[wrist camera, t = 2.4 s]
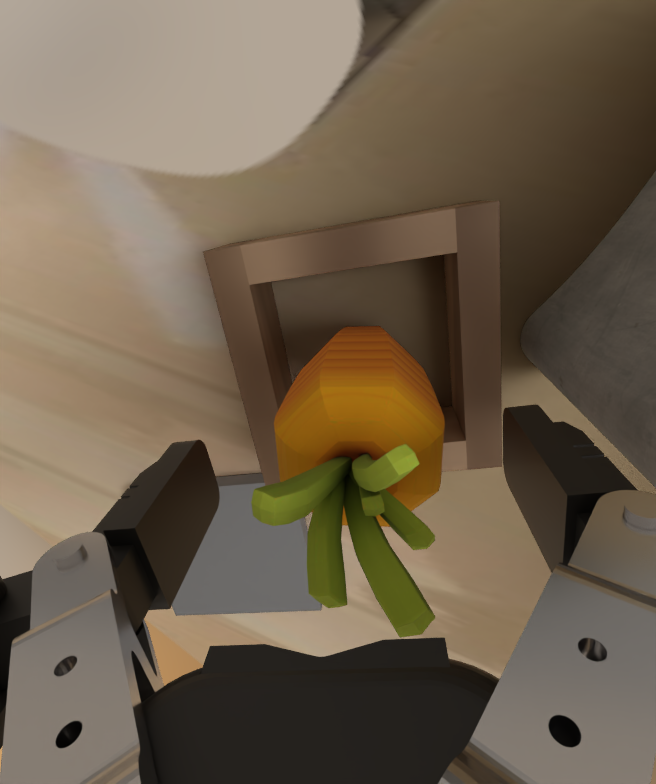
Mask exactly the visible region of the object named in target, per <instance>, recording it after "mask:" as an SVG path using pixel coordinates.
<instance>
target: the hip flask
mask: <svg viewBox="0 0 656 784" xmlns="http://www.w3.org/2000/svg"><path fill="white" fill-rule="evenodd" d="M520 340H521V347H522V350H523V352H524V354H525V356H526V357H527V358H528V359H529V360H530V361H531V362H532V363H533V364H534V365H535V366H536V367H537V368H538V369H539V370H540V371H541V372H542V373H543V374H544V375H545V376H546V377H547V378H548V379H549V380H550V381H551V382H552V383H553V384H554V385H555V386H556V387H557V388H558V389H559V390H560V391H561V392H562V393H563V394H564V395H565V396H566V397H567V399H568V400H569V401H570V402H571V403H572V404H573V405H574V406H575V407H576V408H577V409H578V410H579V411H580V412H581V413H582V414H583V415H584V416H585V417H586V418H587V419H588V420H589V421H590V422H591V423H592V424H593V425H594V426H595V427H596V428H597V429H598V430H599V431H600V432H601V433H602V434H603V435H604V436H605V437H606V438H607V439H608V440H609V441H610V442H611V443H612V444H613V445H614V446H615V447H616V448H617V449H618V450H619V451H620V452H621V453H622V454H623V455H624V456H625V457H626V458H627V459H628V460H629V461H630V462H631V463H632V464H633V465H634V466H635V467H636V468H637V469H638V470H639V471H640V472H641V473H642V474H643V475H644V476H645V477H646V478H647V479H648V480H649V481H650V482H651V483H652V484H653V486H654V487H655V488H656V171H655V173H654V174H653V175H652V177H651V178H650V179H649V181H648V182H647V183H646V185H645V186H644V187H643V189H642V190H641V191H640V193H639V194H638V195H637V197H636V198H635V199H634V201H633V202H632V203H631V205H630V206H629V207H628V209H627V210H626V211H625V213H624V214H623V215H622V216H621V218H620V219H619V220H618V221H617V223H616V224H615V225H614V226H613V228H612V229H611V230H610V231H609V233H608V234H607V235H606V236H605V238H604V239H603V240H602V241H601V242H600V243H599V245H598V246H597V247H596V248H595V249H594V250H593V252H592V253H591V254H590V255H589V256H588V257H587V258H586V260H585V261H584V262H583V263H582V264H581V265H580V266H579V267H578V268H577V270H576V271H575V272H574V273H573V274H572V275H571V276H570V277H569V278H568V279H567V280H566V281H565V282H564V283H563V284H562V285H561V286H560V287H559V288H558V289H557V290H556V292H555V293H554V294H553V295H552V296H551V297H550V298H549V299H547V300H546V301H545V302H544V303H543V304H542V305H541V306H540V307H539V308H538V309H537V310H536V311H535V312H534V313H533V314H532V315H531V316H530V317H529V318H528V319H527V321H526V323H525V324H524V326H523V329H522V332H521V337H520Z"/></svg>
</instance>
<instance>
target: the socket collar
mask: <svg viewBox="0 0 656 784" xmlns="http://www.w3.org/2000/svg"><path fill="white" fill-rule="evenodd" d="M203 253H204V257H205V261H206V264H207V268H208V272H209V276H210V280H211V283H212V287H213V291H214V295H215V298H216V302H217V306H218V310H219V313H220V317H221V321H222V325H223V328H224V332H225V336H226V340H227V343H228V347H229V351H230V355H231V358H232V362H233V366H234V370H235V374H236V377H237V381H238V385H239V389H240V392H241V396H242V400H243V404H244V407H245V411H246V415H247V419H248V422H249V426H250V430H251V434H252V437H253V441H254V445H255V449H256V453H257V456H258V460H259V464H260V468H261V471H262V475H263V479H264V483H265V486H266V485H270V484H275V483H279V482H280V475H279V466H278V457H277V448H276V439H275V429H274V420H275V416H276V414H277V412H278V410H279V408H280V406H281V404H282V402H283V400H284V398H285V396H286V395H287V393H288V391H289V389H290V387H291V386H292V379H291V374H290V370H289V365H288V360H287V355H286V351H285V346H284V341H283V337H282V332H281V327H280V323H279V318H278V313H277V309H276V304H275V299H274V294H273V290H272V285H271V281H277V280H284V279H290V278H297V277H303V276H309V275H316V274H322V273H328V272H335V271H341V270H347V269H354V268H360V267H367V266H373V265H379V264H386V263H392V262H398V261H405V260H411V259H417V258H424V257H430V256H437V255H443V254H444V268H445V286H446V303H447V320H448V337H449V354H450V372H451V389H452V406H450V407H441V410H442V412H443V415H444V421H445V428H444V442H443V456H442V470H441V472H443V471H456V470H468V469H480V468H492V467H502V419H501V311H500V203H499V201H474V202H468V203H462V204H457V205H451V206H445V207H439V208H434V209H428V210H422V211H416V212H411V213H405V214H399V215H393V216H387V217H382V218H376V219H370V220H364V221H359V222H353V223H347V224H341V225H336V226H330V227H324V228H318V229H313V230H307V231H301V232H295V233H290V234H284V235H278V236H272V237H267V238H261V239H255V240H249V241H243V242H238V243H232V244H228V245H225V246H221V247H218V248H214V249H211V250H208V251H204V252H203Z"/></svg>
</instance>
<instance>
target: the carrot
mask: <svg viewBox="0 0 656 784" xmlns="http://www.w3.org/2000/svg"><path fill="white" fill-rule="evenodd" d="M444 428H445V421H444V415H443V412H442V410H441V407H440V405H439V402H438V400H437V397H436V395H435V392H434V390H433V388H432V385H431V383H430V381H429V379H428V377H427V375H426V373H425V371H424V369H423V368H422V367H421V366H420V364H419V363H418V362H417V361H416V360H415V359H414V358H413V357H412V356H411V355H410V354H409V353H408V352H407V351H406V350H405V349H404V348H403V347H402V346H401V345H400V344H399V343H397V342H396V341H395V340H394V339H393V338H392V337H391V336H390V335H389V334H388V333H387V332H386V331H385V330H384V329H383V328H381V327H380V326H357V327H345V328H343V329H341V330H340V331H339V332H338V333H337V334H336V335H334V337H333V338H332V339H331V340H330V341H329V342H328V343H327V344H326V345H325V346H324V347H323V348H322V349H321V350H320V351H319V352H318V353H317V354H316V355H315V356H314V357H313V358H312V359H311V360H310V361H309V362H308V363H307V364H306V365H305V366H304V367H303V368H302V369H301V371H300V373H299V374H298V376H297V377H296V379H295V381H294V382H293V384H292V386H291V387H290V389H289V391H288V393H287V395H286V396H285V398H284V400H283V402H282V404H281V406H280V408H279V410H278V412H277V414H276V416H275V420H274V429H275V439H276V448H277V457H278V466H279V475H280V482H279V483H275V484H270V485H266V486H263V487H259V488H256V489H254V491H253V496H252V501H251V504H252V511H253V516H254V517H255V518H256V519H258V520H259V521H260V522H262V523H265V524H268V525H272V526H278V525H285V524H290V523H292V522H294V521H296V520H299V519H301V518H303V517H306V516H307V515H308V514H309V513H310V512H312V513H313V514H312V518H311V522H310V526H309V530H308V536H307V577H308V591H309V594H310V595H311V596H312V597H313V598H314V599H316V600H317V601H318V602H320V603H321V604H323V605H324V606H326V607H328V608H335V607H341V606H345V605H347V594H346V582H345V571H344V562H343V553H342V545H341V531H342V525H348V527H349V531H350V534H351V538H352V542H353V545H354V549H355V552H356V555H357V558H358V561H359V563H360V565H361V567H362V569H363V571H364V573H365V575H366V578H367V580H368V582H369V584H370V586H371V588H372V590H373V592H374V595H375V597H376V599H377V600H378V602H379V604H380V605H381V607H382V609H383V610H384V612H385V614H386V615H387V617H388V618H389V620H390V622H391V623H392V625H393V627H394V628H395V630H396V632H397V633H398V635H399V637H406V636H413V635H420V634H422V633H423V632H424V631H425V629H426V628H427V627H428V625H429V624H430V623H431V622H432V621H433V620H434V619H435V615H434V614H433V612H432V610H431V609H430V607H429V605H428V604H427V602H426V600H425V599H424V597H423V595H422V594H421V592H420V590H419V588H418V587H417V585H416V583H415V582H414V580H413V579H412V577H411V576H410V574H409V573H408V571H407V570H406V568H405V567H404V565H403V564H402V562H401V561H400V560H399V558H398V557H397V555H396V554H395V552H394V551H393V549H392V548H391V546H390V545H389V543H388V541H387V539H386V537H385V535H384V533H383V531H382V529H381V527H380V526H388V527H392V528H393V529H394V531H395V532H396V533H397V534H398V535H399V536H400V537H401V538H402V539H403V540H404V541H405V542H406V543H407V544H408V545H409V546H410V547H411V548H412V549H413V550H418V549H427V548H428V547H429V546H430V545H431V544H432V543H433V542H434V541H435V535H434V534H433V533H432V532H431V530H430V529H429V528H428V527H427V526H426V525H425V524H424V523H423V522H422V521H421V520H420V519H419V518H417V517H416V516H415V515H414V514H413V513H412V512H411V511H412V510H414V509H415V508H416V507H418V506H419V505H420V504H422V503H423V502H424V501H426V500H427V499H428V498H430V497H431V496H432V495H434V494H435V493H436V492H438V491H439V488H440V484H441V470H442V456H443V442H444Z"/></svg>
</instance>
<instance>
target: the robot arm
mask: <svg viewBox="0 0 656 784" xmlns="http://www.w3.org/2000/svg"><path fill="white" fill-rule="evenodd" d="M503 465H504V472H505V477H506V480H507V483H508V486H509V488H510V490H511V492H512V494H513V496H514V498H515V500H516V502H517V504H518V506H519V508H520V510H521V512H522V514H523V516H524V518H525V520H526V522H527V524H528V526H529V528H530V530H531V532H532V534H533V536H534V538H535V540H536V542H537V544H538V546H539V548H540V550H541V552H542V554H543V556H544V558H545V560H546V562H547V564H548V566H549V568H550V570H551V572H552V574H551V576H550V578H549V580H548V582H547V584H546V586H545V588H544V590H543V592H542V594H541V596H540V598H539V600H538V602H537V605H536V607H535V609H534V611H533V613H532V615H531V617H530V619H529V621H528V623H527V625H526V627H525V629H524V631H523V633H522V635H521V637H520V639H519V641H518V643H517V645H516V647H515V649H514V651H513V653H512V655H511V658H510V660H509V662H508V664H507V666H506V668H505V670H504V672H503V674H502V676H501V678H500V679H498V678H496V677H495V676H493V675H492V674H490V673H487V672H485V671H483V670H481V669H479V668H477V667H475V666H472V665H469V664H466V663H463V662H460V661H456V660H452V659H448V653H447V648H446V642H445V638H421V639H394V640H381V641H378V642H375V643H371V644H368V645H364V646H361V647H357V648H354V649H350V650H347V651H343V652H340V653H336V654H333V655H330V656H325V657H316V656H311V655H307V654H303V653H299V652H295V651H291V650H286V649H282V648H278V647H274V646H270V645H266V644H257V645H230V646H210V648H209V651H208V654H207V656H206V659H205V662H204V665H203V668H200V669H197V670H195V671H192V672H190V673H188V674H185V675H183V676H181V677H179V678H177V679H175V680H174V681H172V682H170V683H168V684H167V685H166V686H164V684H163V681H162V677H161V674H160V670H159V667H158V663H157V659H156V656H155V652H154V648H153V645H152V641H151V638H150V634H149V630H148V627H147V625H146V623H145V621H144V617H145V616H146V614H147V612H148V610H157V609H170V607H171V605H172V603H173V601H174V599H175V597H176V595H177V593H178V591H179V589H180V587H181V584H182V582H183V580H184V578H185V576H186V574H187V572H188V570H189V568H190V566H191V564H192V561H193V559H194V557H195V555H196V553H197V551H198V549H199V547H200V545H201V543H202V541H203V539H204V536H205V534H206V532H207V530H208V528H209V526H210V524H211V522H212V520H213V518H214V516H215V513H216V511H217V509H218V506H219V500H220V493H219V487H218V483H217V480H216V477H215V474H214V471H213V468H212V464H211V461H210V458H209V455H208V452H207V449H206V446H205V444H204V443H203V442H202V441H201V440H194V441H185V442H176V443H172V444H171V445H170V447H169V448H168V449H167V450H166V452H165V453H164V454H163V455H162V457H161V458H160V459H159V460H158V462H155V463H154V464H153V465H151V466H150V467H148V468H147V469H146V470H144V471H143V472H142V473H140V474H139V476H138V477H137V478H136V479H135V480H134V482H133V483H132V484H131V485H130V489H127V490H126V491H125V493H124V494H123V495H122V496H121V499H119V500H118V501H117V502H116V503H115V505H114V506H113V507H112V508H111V510H110V511H109V512H108V513H107V514H106V516H105V517H104V518H103V519H102V520H101V522H100V523H99V524H98V525H97V527H96V528H95V529H94V530H93V531H92V532H86V533H81V534H78V535H75V536H72V537H70V538H68V539H66V540H64V541H62V542H60V543H58V544H57V545H55V546H54V547H52V548H51V549H50V550H48V551H47V552H46V553H45V554H44V555H43V556H42V557H41V558H40V559H39V560H38V561H37V563H36V564H35V566H34V568H33V570H32V571H29V572H26V573H22V574H19V575H16V576H12V577H9V578H6V579H2V578H1V576H0V749H1V747H2V746H3V749H2V760H1V772H0V784H650V781H651V777H652V771H653V765H654V760H655V754H656V494H652V493H648V492H643V491H638V490H637V489H636V488H635V487H634V486H633V485H632V484H631V483H630V482H629V481H628V479H627V478H626V477H625V476H624V475H623V474H622V473H621V472H620V471H619V470H618V469H617V468H616V467H615V466H614V464H613V463H612V462H611V461H610V460H609V459H608V458H607V457H604V454H603V453H602V452H601V451H600V449H599V448H598V447H597V446H594V443H593V442H592V441H591V440H590V439H589V438H588V437H587V436H586V434H585V433H584V432H583V431H581V430H579V429H577V428H575V427H573V426H571V425H569V424H567V423H565V422H554V423H553V422H552V421H551V420H550V418H549V417H548V416H547V415H546V414H545V412H544V411H543V410H542V409H541V408H540V407H539V406H538V405H527V406H518V407H509V408H505V409H504V413H503Z"/></svg>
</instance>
